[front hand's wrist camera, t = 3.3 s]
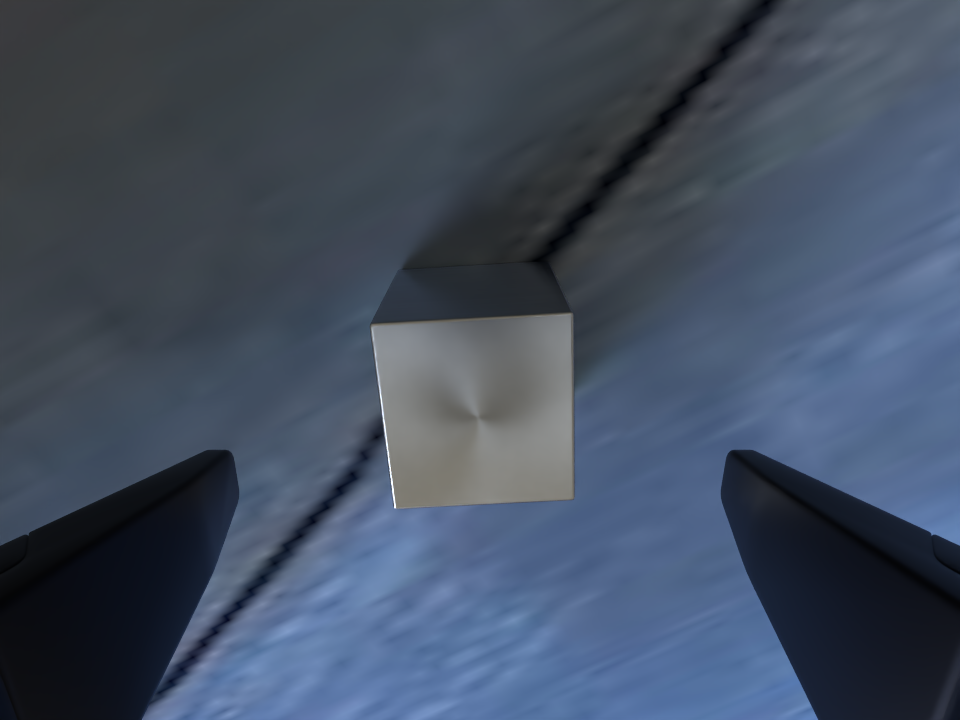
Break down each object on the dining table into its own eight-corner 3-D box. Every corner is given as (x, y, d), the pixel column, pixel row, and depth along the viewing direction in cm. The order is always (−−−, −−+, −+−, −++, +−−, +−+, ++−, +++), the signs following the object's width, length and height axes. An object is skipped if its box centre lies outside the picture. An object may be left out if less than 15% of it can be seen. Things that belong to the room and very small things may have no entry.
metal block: (552, 408, 19) (575, 501, 14) (413, 416, 19) (393, 510, 14) (549, 260, 17) (574, 311, 13) (397, 269, 17) (368, 323, 13)
